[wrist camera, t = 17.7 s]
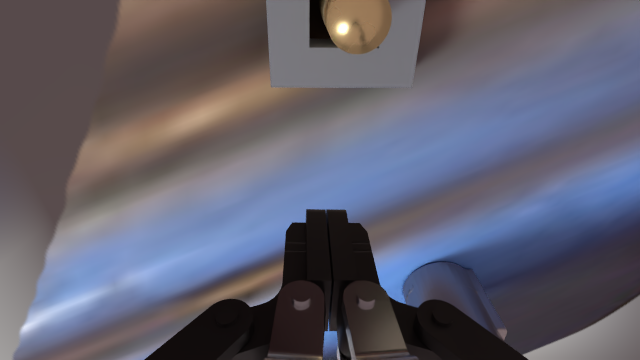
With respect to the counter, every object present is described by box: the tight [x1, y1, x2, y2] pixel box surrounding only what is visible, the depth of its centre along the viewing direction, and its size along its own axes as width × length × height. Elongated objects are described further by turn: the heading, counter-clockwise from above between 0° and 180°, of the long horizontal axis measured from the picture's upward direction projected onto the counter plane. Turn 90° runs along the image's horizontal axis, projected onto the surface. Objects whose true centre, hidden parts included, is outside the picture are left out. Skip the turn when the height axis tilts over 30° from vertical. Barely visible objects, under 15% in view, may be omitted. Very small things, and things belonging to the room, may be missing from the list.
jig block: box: [266, 0, 426, 88], centre depth 28 cm, size 12×12×4 cm
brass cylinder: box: [319, 0, 392, 54], centre depth 26 cm, size 4×4×10 cm
